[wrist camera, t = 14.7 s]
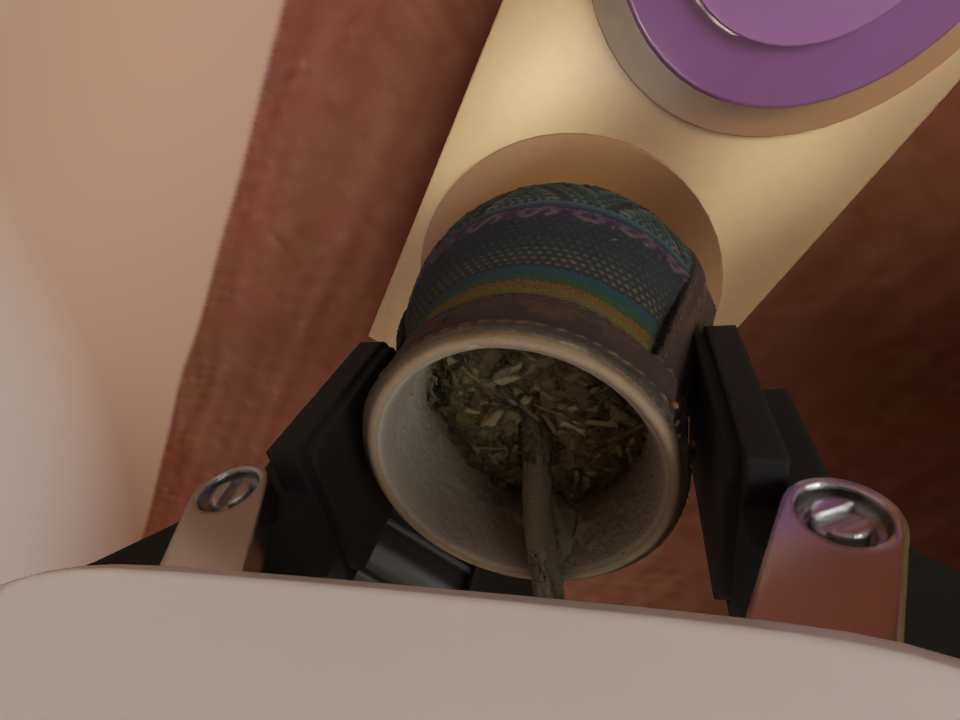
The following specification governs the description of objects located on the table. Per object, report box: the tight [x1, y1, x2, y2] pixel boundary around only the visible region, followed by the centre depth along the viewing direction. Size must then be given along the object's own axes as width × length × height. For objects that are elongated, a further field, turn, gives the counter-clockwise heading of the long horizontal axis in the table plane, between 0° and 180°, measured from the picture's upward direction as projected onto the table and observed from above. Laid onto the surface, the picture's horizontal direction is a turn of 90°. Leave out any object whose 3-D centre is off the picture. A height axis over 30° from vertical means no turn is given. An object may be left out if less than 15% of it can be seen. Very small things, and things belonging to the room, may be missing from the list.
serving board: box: [369, 0, 960, 350], centre depth 14 cm, size 10×20×2 cm, turn 155°
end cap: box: [353, 509, 534, 597], centre depth 22 cm, size 10×7×7 cm
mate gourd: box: [362, 182, 716, 600], centre depth 11 cm, size 7×8×10 cm
